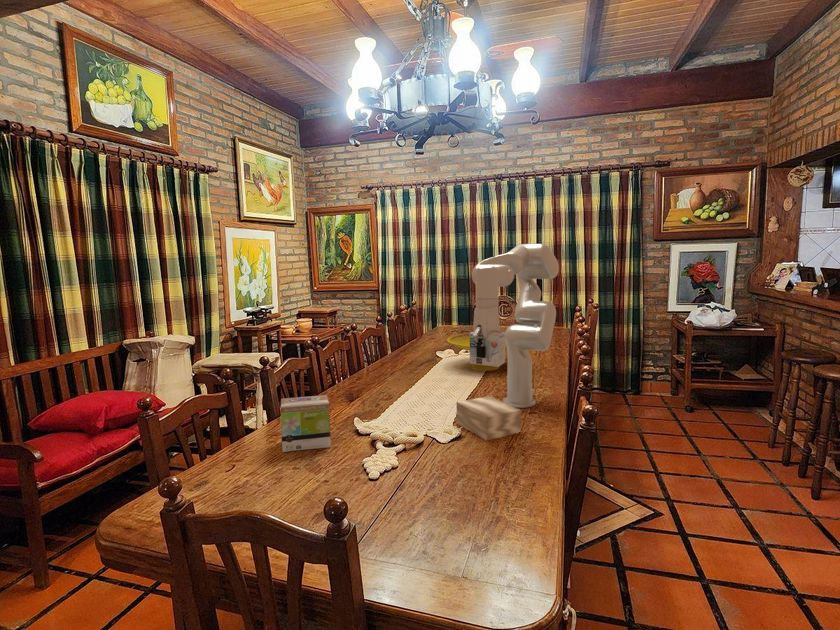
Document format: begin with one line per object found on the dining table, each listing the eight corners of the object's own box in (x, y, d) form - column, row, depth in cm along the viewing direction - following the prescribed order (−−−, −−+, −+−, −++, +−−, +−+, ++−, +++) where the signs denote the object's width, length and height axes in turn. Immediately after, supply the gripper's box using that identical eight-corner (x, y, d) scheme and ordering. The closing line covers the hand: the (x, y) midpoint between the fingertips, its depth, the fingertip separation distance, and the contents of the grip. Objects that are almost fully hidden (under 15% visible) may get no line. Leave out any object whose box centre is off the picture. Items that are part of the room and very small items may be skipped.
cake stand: (535, 363, 254) (535, 335, 252) (507, 381, 220) (507, 350, 218) (467, 356, 275) (467, 330, 273) (432, 371, 241) (431, 342, 239)
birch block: (489, 417, 175) (489, 396, 174) (520, 433, 159) (520, 410, 158) (456, 424, 168) (456, 402, 167) (486, 441, 153) (485, 417, 151)
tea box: (282, 453, 146) (279, 407, 144) (282, 441, 155) (279, 397, 153) (331, 447, 150) (329, 402, 148) (329, 436, 159) (327, 393, 157)
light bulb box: (469, 364, 160) (468, 332, 159) (476, 359, 166) (476, 329, 165) (499, 367, 155) (499, 334, 154) (505, 362, 161) (505, 331, 160)
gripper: (490, 300, 167) (490, 349, 169) (463, 305, 153) (463, 358, 156) (509, 301, 162) (509, 351, 165) (483, 306, 149) (483, 361, 151)
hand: (487, 354), depth 160 cm, fingers closed on light bulb box, 7 cm apart
